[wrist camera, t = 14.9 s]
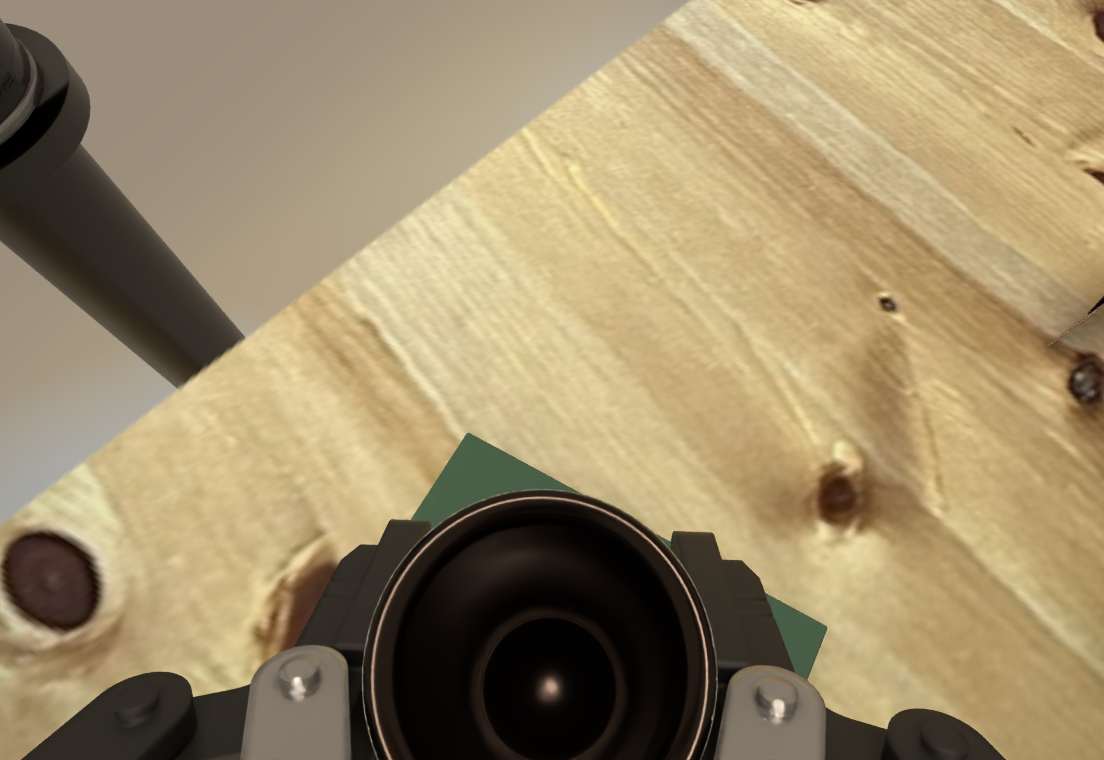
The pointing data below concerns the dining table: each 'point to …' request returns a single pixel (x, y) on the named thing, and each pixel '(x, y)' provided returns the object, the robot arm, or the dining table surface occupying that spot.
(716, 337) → the dining table surface
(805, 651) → the green mat
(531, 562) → the planter
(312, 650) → the robot arm
